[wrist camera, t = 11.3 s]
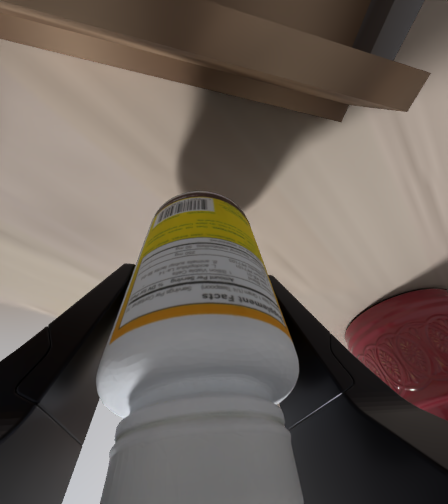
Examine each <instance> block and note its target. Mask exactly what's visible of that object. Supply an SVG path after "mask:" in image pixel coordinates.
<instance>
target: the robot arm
mask: <svg viewBox="0 0 448 504" xmlns="http://www.w3.org/2000/svg"><path fill="white" fill-rule="evenodd" d="M135 266H136V265H135V264H127V263H126V264H123V265H122V266H121V267H120V268H118V269H117V270H116V271H115V272H113V273H112V274H111V275H110V276H108V277H107V278H106V279H105V280H104V281H102V282H101V283H100V284H99V285H97V286H96V287H95V288H94V289H92V290H91V291H90V292H89V293H87V294H86V295H85V296H84V297H82V298H81V299H80V300H79V301H77V302H76V303H75V304H74V305H73V306H71V307H70V308H69V309H68V310H66V311H65V312H64V313H63V314H61V315H60V316H59V317H58V318H56V319H55V320H54V321H53V322H52V323H50V324H49V327H45V328H44V329H43V330H41V331H40V332H39V333H38V334H36V335H35V336H34V337H33V338H31V339H30V340H29V341H27V342H26V343H25V344H24V345H22V346H21V347H20V348H18V349H17V350H16V351H14V352H13V353H11V354H10V355H9V356H7V357H6V358H5V359H3V360H2V361H1V362H0V504H61V503H62V501H63V498H64V496H65V493H66V490H67V487H68V485H69V482H70V479H71V476H72V473H73V471H74V468H75V465H76V462H77V459H78V457H79V454H80V451H81V448H82V445H83V443H84V440H85V437H86V434H87V432H88V429H89V426H90V423H91V421H92V418H93V415H94V412H95V410H96V407H97V404H98V401H99V398H100V397H99V395H98V392H97V387H96V375H97V371H98V368H99V364H100V361H101V358H102V356H103V353H104V350H105V348H106V345H107V342H108V340H109V337H110V334H111V331H112V329H113V326H114V323H115V321H116V318H117V315H118V312H119V310H120V307H121V304H122V301H123V299H124V296H125V293H126V290H127V288H128V285H129V282H130V280H131V277H132V274H133V271H134V269H135ZM268 276H269V279H270V281H271V284H272V287H273V290H274V293H275V295H276V298H277V301H278V304H279V306H280V309H281V312H282V314H283V317H284V320H285V323H286V325H287V328H288V331H289V333H290V336H291V339H292V342H293V344H294V347H295V351H296V353H297V356H298V361H299V374H298V379H297V382H296V384H295V386H294V388H293V390H292V391H291V393H290V394H289V395H288V396H287V397H286V398H285V399H284V400H282V401H281V402H280V403H279V404H280V408H281V410H282V412H283V414H284V420H285V424H284V426H285V428H286V429H287V430H288V431H290V434H291V445H292V450H293V455H294V459H295V464H296V468H297V472H298V477H299V481H300V486H301V490H302V495H303V500H304V504H448V421H447V420H444V419H442V418H440V417H438V416H436V415H433V414H431V413H429V412H427V411H424V410H422V409H420V408H418V407H417V406H415V405H413V404H411V403H410V402H408V401H407V400H405V399H404V398H402V397H401V396H400V395H399V394H397V393H396V392H395V391H394V390H393V389H391V388H390V387H389V386H388V385H387V384H386V383H385V382H383V381H382V380H381V379H380V378H379V377H378V376H377V375H375V374H374V373H373V372H372V371H371V370H370V369H369V368H367V367H366V366H365V365H364V364H363V363H362V362H361V361H359V360H358V359H357V358H356V357H355V356H354V355H353V354H352V353H351V352H350V351H348V350H347V349H346V348H345V347H344V346H343V345H342V344H341V343H340V342H339V341H338V340H337V339H336V338H335V337H334V336H333V335H332V334H330V332H329V331H328V330H327V329H326V328H325V327H324V326H323V325H322V324H321V323H320V322H319V321H318V320H317V319H316V318H315V317H314V316H313V315H312V314H311V313H310V312H309V311H308V310H307V309H306V308H305V307H304V306H303V305H302V304H301V303H300V302H299V301H298V300H297V299H296V298H295V297H294V296H293V295H292V294H291V293H290V292H289V291H288V290H287V289H286V288H285V287H284V286H283V285H282V284H281V283H280V282H279V281H278V280H277V279H276V278H275V277H274V276H272V275H268Z"/></svg>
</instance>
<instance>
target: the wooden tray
mask: <svg viewBox="0 0 448 504" xmlns="http://www.w3.org/2000/svg"><path fill="white" fill-rule="evenodd" d="M423 2H424V0H0V39H4V40H8V41H12V42H16V43H20V44H24V45H29V46H33V47H37V48H41V49H45V50H49V51H53V52H57V53H61V54H65V55H69V56H73V57H77V58H82V59H86V60H90V61H94V62H98V63H102V64H106V65H110V66H114V67H118V68H122V69H126V70H130V71H135V72H139V73H143V74H147V75H151V76H155V77H159V78H163V79H167V80H171V81H175V82H179V83H184V84H188V85H192V86H196V87H200V88H204V89H208V90H212V91H216V92H220V93H224V94H228V95H232V96H237V97H241V98H245V99H249V100H253V101H257V102H261V103H265V104H269V105H273V106H277V107H281V108H285V109H290V110H294V111H298V112H302V113H306V114H310V115H314V116H318V117H322V118H326V119H330V120H334V121H339V122H341V121H342V119H343V117H344V115H345V113H346V111H347V108H348V106H349V105H354V106H363V107H371V108H379V109H387V110H396V111H404V112H407V111H408V110H409V108H410V106H411V105H412V103H413V101H414V100H415V98H416V97H417V95H418V93H419V92H420V90H421V88H422V87H423V85H424V84H425V82H426V80H427V79H428V77H429V75H430V74H431V73H429V72H426V71H423V70H420V69H416V68H413V67H410V66H407V65H404V64H401V63H398V62H395V61H394V59H395V57H396V55H397V53H398V51H399V49H400V47H401V45H402V43H403V41H404V39H405V37H406V35H407V33H408V32H409V30H410V28H411V26H412V24H413V22H414V20H415V18H416V16H417V14H418V12H419V10H420V8H421V6H422V4H423Z"/></svg>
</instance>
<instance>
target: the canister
mask: <svg viewBox="0 0 448 504" xmlns="http://www.w3.org/2000/svg"><path fill="white" fill-rule="evenodd" d="M345 340H346V342H347V345H348V350H349V351H350V352H351V353H352V354H353V355H354V356H355V357H356V358H357V359H358V360H359V361H361V362H362V363H363V364H364V365H365V366H366V367H367V368H369V369H370V370H371V371H372V372H373V373H374V374H375V375H377V376H378V377H379V378H380V379H381V380H382V381H383V382H385V383H386V384H387V385H388V386H389V387H390V388H391V389H393V390H394V391H395V392H396V393H397V394H399V395H400V396H401V397H402V398H404V399H405V400H407V401H408V402H410V403H411V404H413V405H415V406H417V407H418V408H420V409H422V410H424V411H427V412H429V413H431V414H433V415H436V416H438V417H440V418H442V419H444V420H447V421H448V290H445V289H422V290H417V291H412V292H408V293H404V294H401V295H398V296H395V297H392V298H390V299H387V300H385V301H383V302H381V303H379V304H377V305H375V306H373V307H371V308H370V309H368V310H366V311H365V312H363V313H362V314H361V315H359V316H358V317H357V318H356V319H355V320H354V321H353V322H352V323H351V324H350V325H349V327H348V328H347V330H346V332H345Z"/></svg>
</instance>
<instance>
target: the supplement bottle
mask: <svg viewBox="0 0 448 504" xmlns="http://www.w3.org/2000/svg"><path fill="white" fill-rule="evenodd" d="M298 374H299V361H298V356H297V353H296V351H295V347H294V344H293V342H292V339H291V336H290V333H289V331H288V328H287V325H286V323H285V320H284V317H283V314H282V312H281V309H280V306H279V304H278V301H277V298H276V295H275V293H274V290H273V287H272V284H271V281H270V279H269V276H268V274H267V271H266V268H265V265H264V262H263V260H262V257H261V254H260V251H259V249H258V246H257V243H256V241H255V238H254V235H253V232H252V230H251V227H250V224H249V222H248V220H247V218H246V216H245V214H244V213H243V211H242V210H241V209H240V208H239V207H238V206H237V205H236V204H235V203H234V202H233V201H231V200H230V199H228V198H226V197H224V196H222V195H220V194H217V193H213V192H208V191H191V192H186V193H183V194H180V195H177V196H175V197H173V198H171V199H170V200H168V201H167V202H166V203H165V204H163V205H162V206H161V207H160V208H159V210H158V211H157V212H156V214H155V216H154V218H153V220H152V222H151V225H150V228H149V230H148V233H147V236H146V238H145V241H144V244H143V247H142V249H141V252H140V255H139V257H138V260H137V263H136V266H135V269H134V271H133V274H132V277H131V280H130V282H129V285H128V288H127V290H126V293H125V296H124V299H123V301H122V304H121V307H120V310H119V312H118V315H117V318H116V321H115V323H114V326H113V329H112V331H111V334H110V337H109V340H108V342H107V345H106V348H105V350H104V353H103V356H102V358H101V361H100V364H99V368H98V371H97V375H96V387H97V392H98V395H99V397H100V399H101V401H102V403H103V404H104V405H105V406H106V407H107V408H108V409H109V410H110V411H112V412H113V413H115V414H116V415H117V416H119V417H122V418H124V419H123V420H122V421H121V422H120V423H119V425H118V426H117V429H116V434H115V442H116V443H115V445H114V446H113V447H112V449H111V450H110V454H109V457H110V461H109V467H108V472H107V476H106V481H105V485H104V489H103V493H102V497H101V501H100V504H304V500H303V495H302V490H301V486H300V481H299V477H298V472H297V468H296V464H295V459H294V455H293V450H292V445H291V434H290V431H288V430H287V429H286V428H285V427H284V424H285V420H284V414H283V412H282V410H281V408H280V407H279V406H277V404H278V403H280V402H281V401H282V400H284V399H285V398H286V397H287V396H288V395H289V394H290V393H291V391H292V390H293V388H294V386H295V384H296V382H297V379H298Z"/></svg>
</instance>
